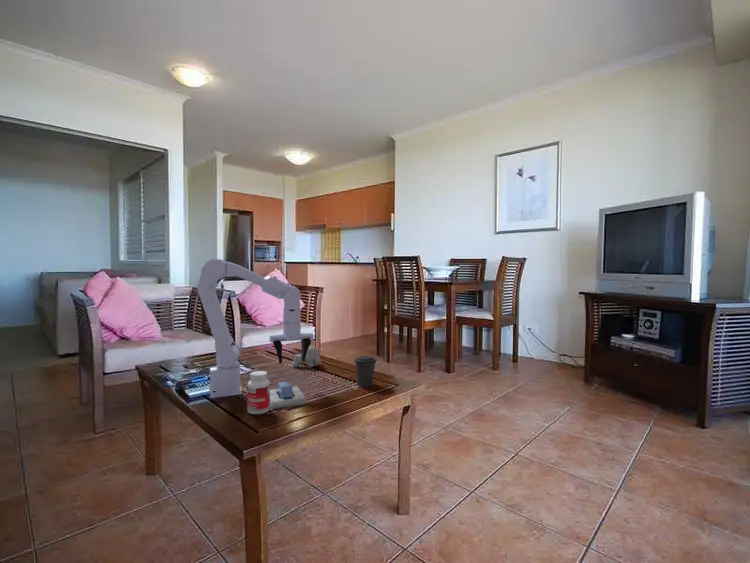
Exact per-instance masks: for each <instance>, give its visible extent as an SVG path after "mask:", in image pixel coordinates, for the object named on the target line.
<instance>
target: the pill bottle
mask: <svg viewBox="0 0 750 563" xmlns="http://www.w3.org/2000/svg"><path fill="white" fill-rule="evenodd" d="M249 378H250V380H249V381H248V382H247V402H246V404H247V405H246V406H247V409H246V410H247V412H248V413H249V414H251V415H262V414H265V413H267V412H269V411H270V408H271V406H270V390H271V388H270V387H271V382H270V380H269V379H267V378H268V372H267V371H265V370H257V371H252V372H250V373H249Z"/></svg>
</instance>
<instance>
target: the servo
mask: <svg viewBox="0 0 750 563" xmlns="http://www.w3.org/2000/svg"><path fill="white" fill-rule="evenodd" d="M292 387H293V385H292V383H291V381H281V382H278V388H277V389H278V392H279V398H284V400H286V399H292V397H293V393H292Z"/></svg>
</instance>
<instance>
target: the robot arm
mask: <svg viewBox="0 0 750 563" xmlns="http://www.w3.org/2000/svg"><path fill="white" fill-rule="evenodd" d="M230 277H238V278H241V279H243V280H245V281H248V282H250V283H253V284H255V285H257V286H259V287H260V289H261V292H263V293H265V294H268V295H269V296H272V297H274V298H277V299H279V300H281V299H282V300H283V301H284V303H283V304H284V305H283V309H282V310H283V313H282V316H283V320H282V324H283V330H282V331H283V332H282V333H283V334H282V333H281V334H275V335H269V343H272V344H273V347H274V349H275V352H276V354H277V358H278V359H277V360H278V363H279V364H283V353H282V352H283V344H282V342H293V341H294V342H295V341H300V344H301V346H300V347H301V353H302V354H301V353H300V354H301V360H302V361H305V357H306V353H307V350H308V348H309V346H311V343H312V340H314V338H315V337H314V334H315V333H312V332H307V333H306V332H305V333H304V332H303V333H302V332H301V327H302V326H301V324H302V323H301V320H302V319H301V318H302V317H301V315H302V314H301V311H302V310H301V309H302V308H301V302H300V301H301V299H302V294H301V291H300V289H298V287H296V286H295V285H291V283H289V282H287V283H286V282H284V281H282V280H280V279H278V276H275V275H274V276H271V275H268V276H265V277H264V276H262V275H260V274H259V273H258V274H257V273H256V272H254V271H252V270H250V269H248V268H246V267H243V266H242V265H239V264H236V263H234V262H231V261H226V260H224V259H222V258H221V259H220V258H219V259H218V258H211V259H209V260H207V261H206V262H205V264H204V265H203V266H202V268H201V270H200V276H199V280H198V282H197V293H198V295H199V298H200V302H201V304H202V307H203V310H204V312H205V316H206V318H207V322H208V325H209V327H210V331H211V334H212V337H213V340H214V349H215V352H216V354H215V363H216V366H214V367H213V366H212V367H210V368H209V373H210V374H209V377H210V378H209V380H210V381H209V383H210V384H209V385H208V390H209V394H210V395H209V396H210V398H211V399H215V398H223V397H232V396H240V395H242V394H243V390H242V387H241V363H240V361H239V360H238V359H239V357H240V355H241V350H240V347H239V346H238V345H237V344H236V342H235V341H234V338H233V336H232V335H231V333H230V330H229V327H228V325H227V324H228V323H227V320H226V319H225V315H224V313H223V310H222V307H221V304H220V301H219V298H218V294H217V292H216V289H217V288H218V286H219V284H220V283H221V282H222V280H224V278H230ZM214 390H216V391H214Z"/></svg>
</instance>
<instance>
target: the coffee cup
mask: <svg viewBox="0 0 750 563" xmlns="http://www.w3.org/2000/svg"><path fill="white" fill-rule="evenodd" d="M353 360H354V362H355V369H356V370H355V371H356V381H357V382H356V383H357V386H358V387H359V388H368V387H367V386H371V387H373V385H374V378H375V368H376V362H377V358H376V357H374V356H373V357H372V356H371V355H369V356H368V355H363V356H362V355H361V356H357V357H355V358H354V359H353Z"/></svg>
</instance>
